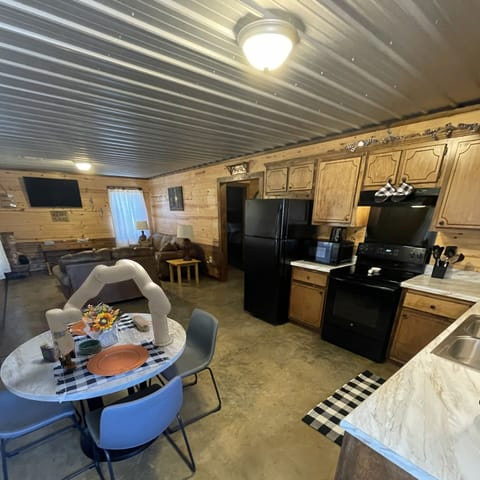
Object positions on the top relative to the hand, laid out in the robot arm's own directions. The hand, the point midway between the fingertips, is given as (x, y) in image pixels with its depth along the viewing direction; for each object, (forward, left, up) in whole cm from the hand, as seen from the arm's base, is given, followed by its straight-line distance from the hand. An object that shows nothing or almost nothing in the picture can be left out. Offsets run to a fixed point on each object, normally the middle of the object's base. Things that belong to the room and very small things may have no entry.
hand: (68, 361), depth 142 cm
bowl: (-18, -11, -5) cm, 22 cm away
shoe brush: (-60, -14, -2) cm, 61 cm away
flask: (+1, -20, -5) cm, 21 cm away
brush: (0, 0, -5) cm, 5 cm away
